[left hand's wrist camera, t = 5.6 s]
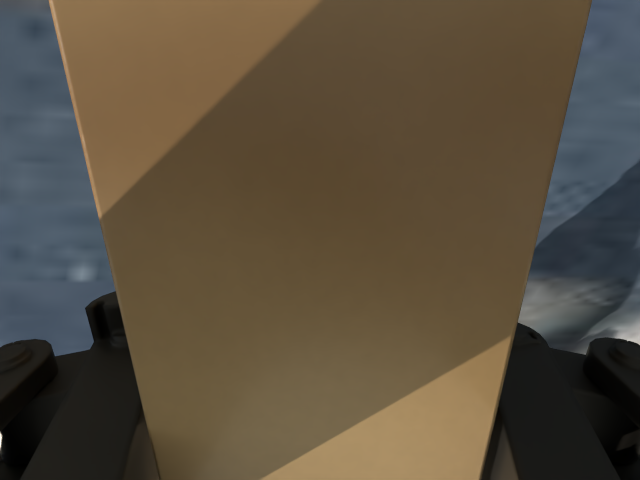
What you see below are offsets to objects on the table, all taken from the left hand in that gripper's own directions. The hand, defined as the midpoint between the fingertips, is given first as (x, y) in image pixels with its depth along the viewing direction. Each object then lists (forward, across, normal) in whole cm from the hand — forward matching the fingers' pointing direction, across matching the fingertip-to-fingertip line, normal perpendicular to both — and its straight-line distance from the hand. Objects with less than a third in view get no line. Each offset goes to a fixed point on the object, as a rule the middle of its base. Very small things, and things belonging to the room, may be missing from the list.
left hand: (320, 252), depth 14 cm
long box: (+1, 0, +10) cm, 10 cm away
